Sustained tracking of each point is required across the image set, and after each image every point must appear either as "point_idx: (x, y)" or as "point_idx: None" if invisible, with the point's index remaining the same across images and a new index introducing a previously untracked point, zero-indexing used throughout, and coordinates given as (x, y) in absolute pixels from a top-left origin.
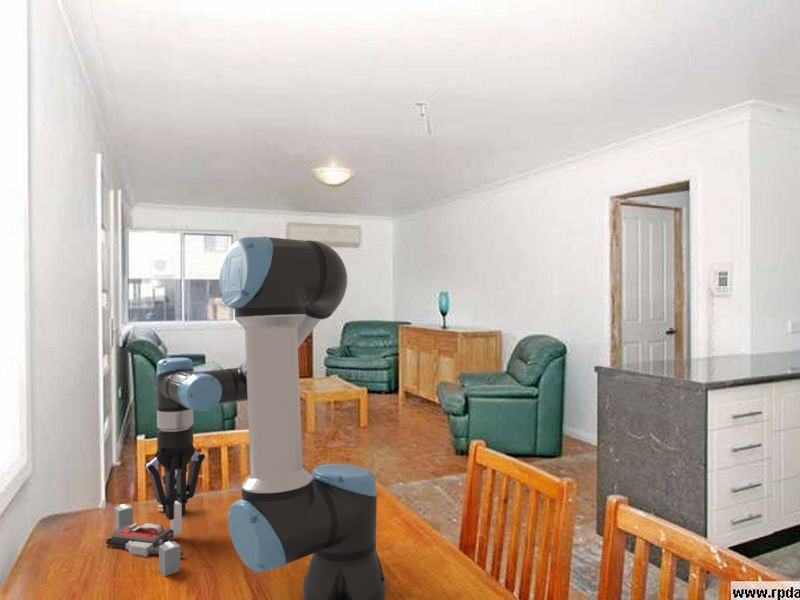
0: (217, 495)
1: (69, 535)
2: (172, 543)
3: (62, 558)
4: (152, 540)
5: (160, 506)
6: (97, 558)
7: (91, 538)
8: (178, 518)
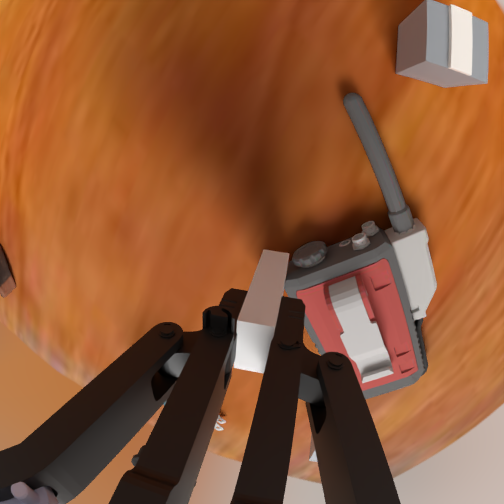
0: (90, 377)
1: (411, 437)
2: (441, 46)
3: (495, 365)
4: (390, 254)
5: (218, 425)
6: (478, 315)
7: (405, 409)
8: (266, 283)
